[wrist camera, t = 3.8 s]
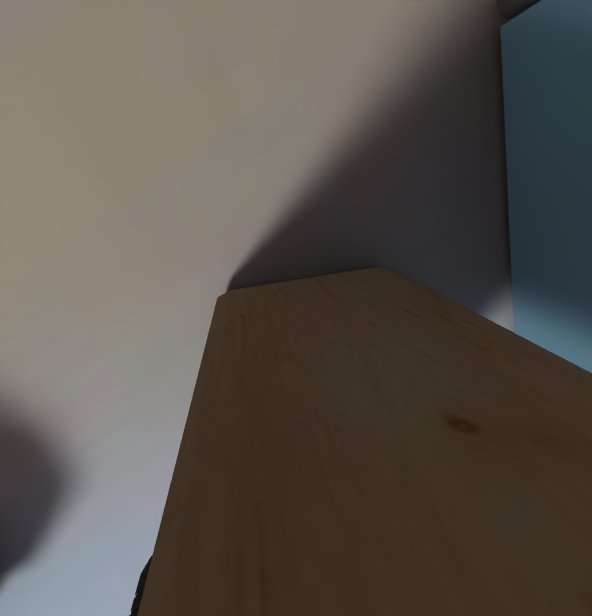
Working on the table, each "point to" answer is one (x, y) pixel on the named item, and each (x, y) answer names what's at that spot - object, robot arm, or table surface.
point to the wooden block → (376, 462)
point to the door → (550, 171)
